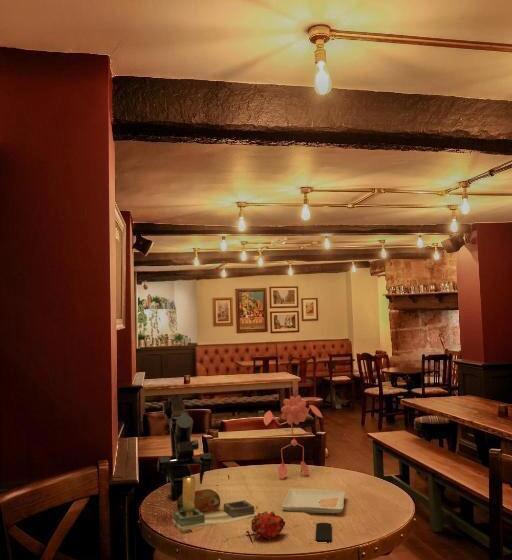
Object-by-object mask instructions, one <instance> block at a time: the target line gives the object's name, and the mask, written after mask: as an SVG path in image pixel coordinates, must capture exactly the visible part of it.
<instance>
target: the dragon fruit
mask: <svg viewBox="0 0 512 560" xmlns="http://www.w3.org/2000/svg"><path fill="white" fill-rule="evenodd" d="M257 514H258V515H257V516H255V517H254V518H251V519H252V520H251V525H250V528H251V531H252V532H253V535H254V537H258V536H259V539H261V540H263V539H264V538H265V539H266V540H269V541H271V540H272V538H279V537H280V536H281V534H280V533H281V532H282V531H283V529H284V527H285V526H286V521H285V519H284V518H282V516H280V515H276V514H275V512H274V511H270V512H269V513H268V511H267V510H265V511H264V512H262V513H261V512H257Z"/></svg>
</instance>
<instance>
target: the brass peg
mask: <svg viewBox="0 0 512 560" xmlns="http://www.w3.org/2000/svg"><path fill="white" fill-rule="evenodd" d="M195 482H196V479H195V476H192V475H191V476H187V477H183V517H188V516H194V515H195V491H196V486H195V485H196V483H195Z"/></svg>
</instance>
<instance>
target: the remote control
mask: <svg viewBox="0 0 512 560" xmlns="http://www.w3.org/2000/svg"><path fill="white" fill-rule="evenodd" d="M315 526H316V527H315V541H317V542H327V543H326V544H331V542H333V539H332V538H333V537H332V536H333V534H332V533H333V529H332V523H329V522H317V523H316V525H315ZM329 542H330V543H329Z"/></svg>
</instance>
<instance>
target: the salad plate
mask: <svg viewBox="0 0 512 560" xmlns="http://www.w3.org/2000/svg"><path fill="white" fill-rule="evenodd" d="M345 497H346V491H344V490H332V489H314V488H289V489H288V492H287V495H286V497H285V499H284V501H283V502H282V504H281V508H282V509H283V510H284V511H287V512H304V513H305V514H315V513H332V514H331V515H334V513H336V514H339V513H341V512H342V511H343V509H344V506H345V505H344V504H345V503H344V502H345ZM327 498H328V499H330V498H339V499H338V501H337V505H336V506H335V508H334V507H332V508H333V509H332V508H330V507H328V508H327V507H325V508H323V507H321V506H320V505H321V504H320V503H319V502H320V500H321V499H326V500H327ZM319 506H320V507H319Z"/></svg>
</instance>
